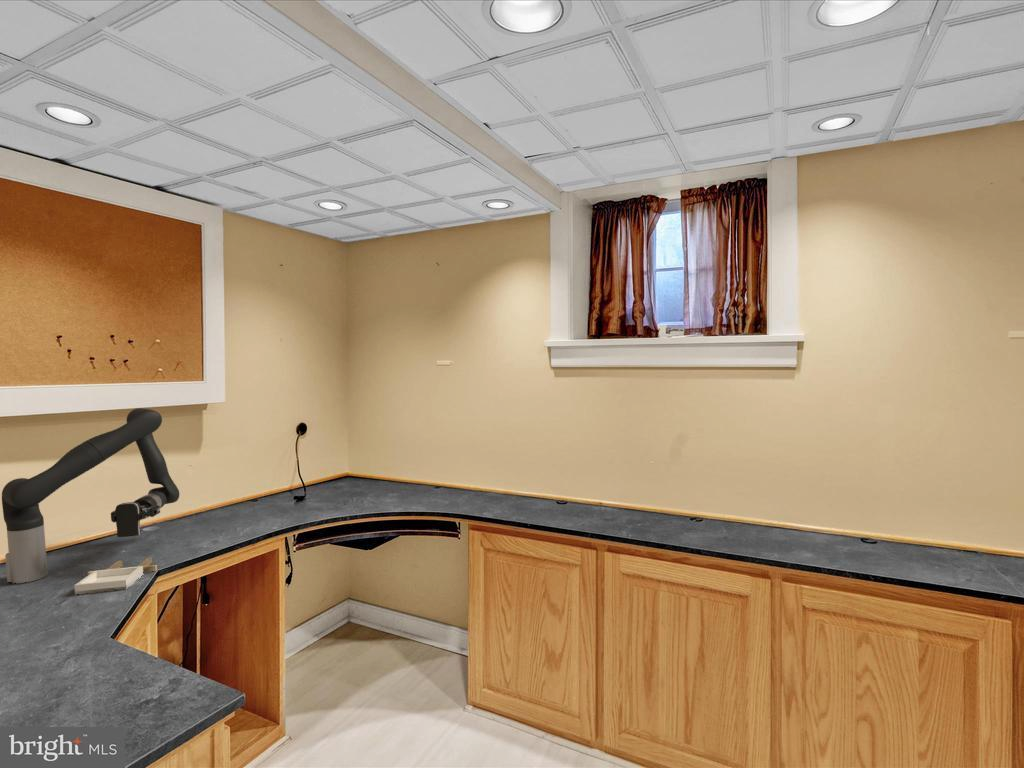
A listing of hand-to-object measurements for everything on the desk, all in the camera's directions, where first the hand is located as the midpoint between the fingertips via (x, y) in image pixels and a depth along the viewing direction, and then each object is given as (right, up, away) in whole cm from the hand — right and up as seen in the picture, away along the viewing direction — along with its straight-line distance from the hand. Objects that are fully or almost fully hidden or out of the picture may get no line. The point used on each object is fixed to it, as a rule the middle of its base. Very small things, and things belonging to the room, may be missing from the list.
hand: (126, 518), depth 188 cm
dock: (+1, -18, 0) cm, 18 cm away
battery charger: (0, -7, +2) cm, 7 cm away
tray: (+3, -18, -12) cm, 22 cm away
